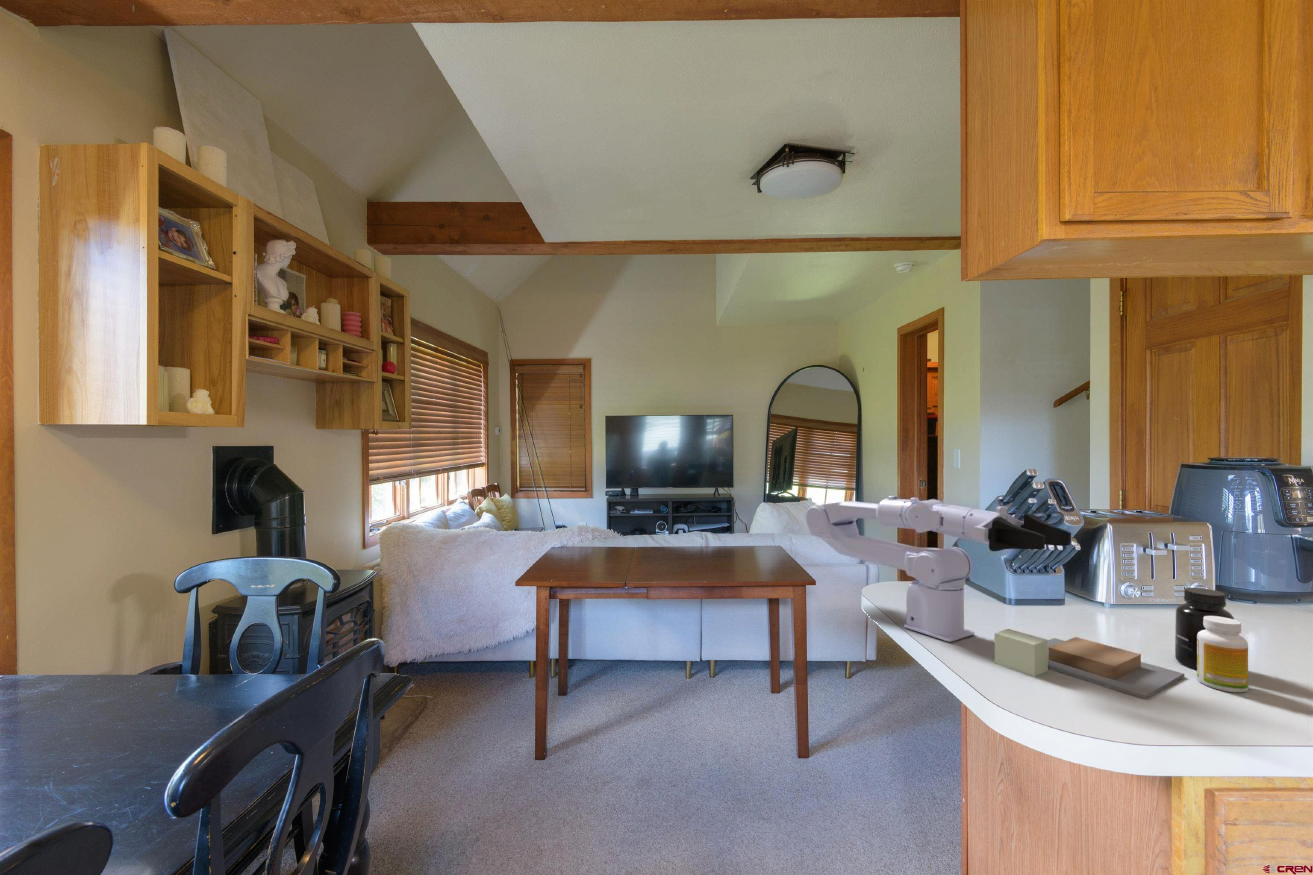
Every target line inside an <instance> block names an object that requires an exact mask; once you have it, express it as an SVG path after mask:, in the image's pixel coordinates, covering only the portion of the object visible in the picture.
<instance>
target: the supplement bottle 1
mask: <svg viewBox="0 0 1313 875" xmlns="http://www.w3.org/2000/svg"><path fill="white" fill-rule="evenodd" d="M1226 596H1227V595H1226V594H1225V593H1224V592H1222V591H1218V590H1215V589H1210V588H1203V587H1186V588H1184V590H1183V600H1184V601H1185V603H1182V604H1180V605H1178V606H1177V607H1176V609H1175V622H1174V623H1175V625H1174V626H1175V630H1174V631H1175V636H1174V639H1175V640H1174V641H1175V643H1174V646H1175V647H1174V652H1175V654H1174V656H1175V660H1176V661H1177V662H1178V664H1181V665H1182V666H1185V667H1187V668H1190V669H1193V670H1195V671H1197V634H1198V632H1200V631H1202V630H1206V628H1205V627H1204V625H1203V618H1204V616H1219V617H1225V618H1230V619H1234V620H1235V617H1234V615H1233V614H1232V613H1231V612H1229V611H1228V610H1226V609H1225V607H1227V602H1226V600H1227V599H1226Z"/></svg>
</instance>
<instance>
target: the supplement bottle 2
mask: <svg viewBox="0 0 1313 875" xmlns="http://www.w3.org/2000/svg"><path fill="white" fill-rule="evenodd" d="M1203 625H1204V627H1205V628H1206V630H1202V631H1200V632H1198V634H1197V670H1196V675H1197V680H1198V682H1200V684H1202V685H1203V686H1207V687H1208V688H1212V689H1215V690H1220V691H1222V692H1227V693H1246V692H1248V691H1249V644H1248V642H1249V641H1248V640H1246V638H1244V637H1243V636H1241V635H1240V634H1241V633H1242V622H1240V621H1239V620H1236V619H1235V618H1234V619H1230V618H1225V617H1219V616H1204V618H1203Z"/></svg>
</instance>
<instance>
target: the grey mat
mask: <svg viewBox="0 0 1313 875" xmlns="http://www.w3.org/2000/svg"><path fill="white" fill-rule="evenodd" d="M1047 640H1048V670H1049V669H1050V670H1053V671H1055V672H1059V673H1062V674H1065V675H1068V676H1070V677H1074V678H1077V679H1081V680H1084V681H1088V682H1090V683H1094V684H1097V685H1099V686H1103V687H1106V688H1108V689H1112V690H1115V689H1116V690H1115V691H1118V692H1122V693H1125V694H1128V695H1130V696H1134V697H1137V698H1139V699H1143V700H1146V699H1148V698H1150V697H1152V696H1153V695H1155V694H1157V693H1159V692H1160V691H1163V689H1165V688H1167V687H1169V686H1171V685H1173V684H1175V683H1176V682H1178V681H1180V680H1181V679H1183V678H1185V673H1183V672H1179V671H1176V670H1172V669H1168V668H1165V667H1161V666H1158V665H1154V664H1152V663H1147V662H1144V661H1141V667H1140V668H1138V669H1136V670H1134V671H1132V672H1130V673H1128V674H1126V675H1124V676H1122V677H1120V678H1117V679H1115V680H1114V679H1110V678H1107V677H1104V676H1101V675H1097V674H1094V673H1091V672H1087V671H1084V670H1081V669H1078V668H1074V667H1071V666H1068V665H1065V664H1061V663H1058V662H1055V661H1052V660H1049V647H1051V646H1054V645H1056V644H1059V643H1061V642H1064V641H1065V640H1063V639H1059V638H1056V637H1052V638H1050V639H1047Z"/></svg>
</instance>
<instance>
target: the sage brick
mask: <svg viewBox="0 0 1313 875" xmlns="http://www.w3.org/2000/svg"><path fill="white" fill-rule="evenodd" d="M1048 640H1049V639H1046V638H1043V637H1039V636H1035V635H1032V634H1029V633H1025V632H1021V631H1018V630H1013V629H1011V628H1006V629H1003V630H1000V631H997V632H994V664H996V665H999V666H1002V667H1005V668H1008V669H1011V670H1014V671H1016V672H1020V673H1023V674H1025V675H1029V676H1031V677H1037V676H1039V675H1042V674H1044V673H1046V672H1048V670H1049V668H1048Z"/></svg>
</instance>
